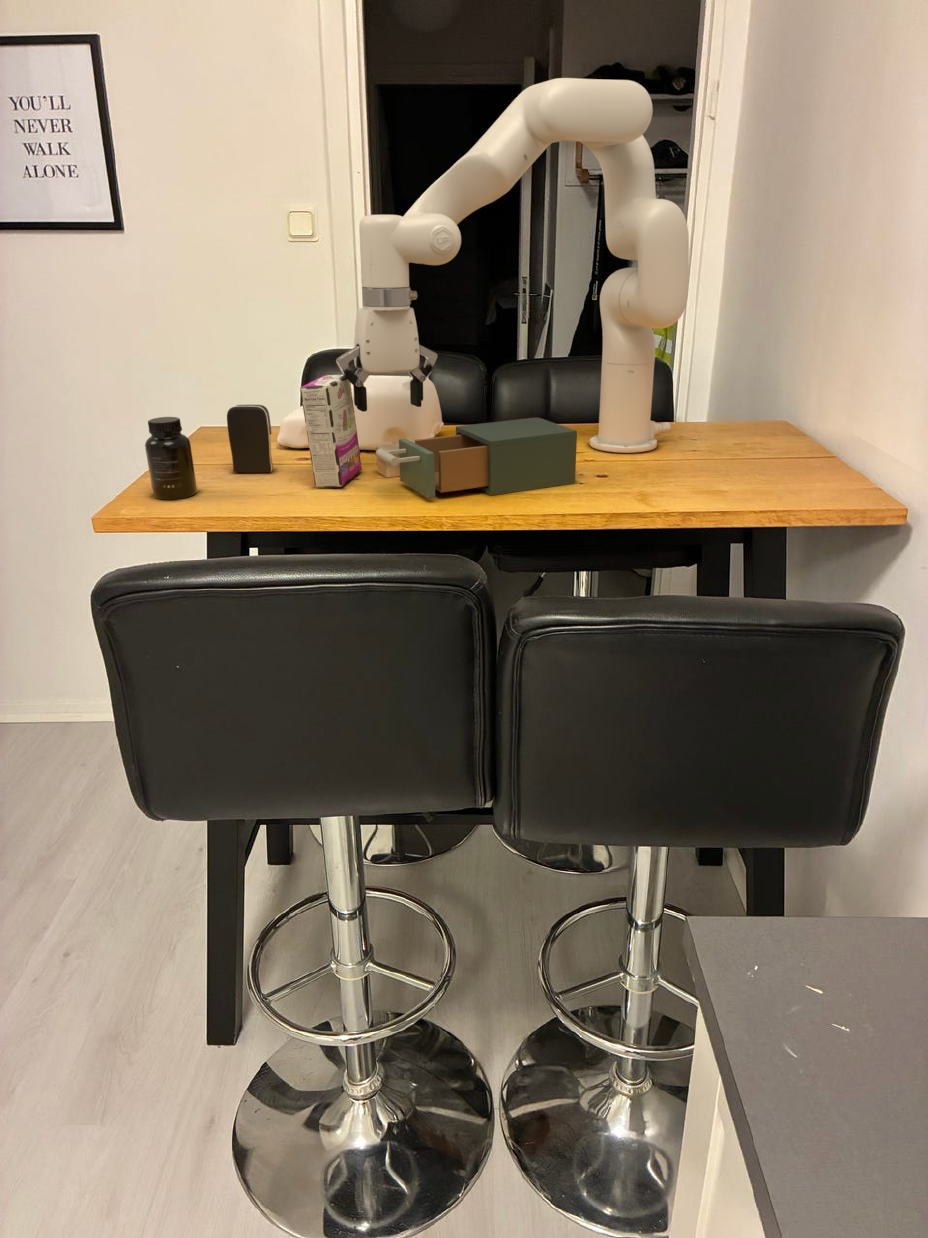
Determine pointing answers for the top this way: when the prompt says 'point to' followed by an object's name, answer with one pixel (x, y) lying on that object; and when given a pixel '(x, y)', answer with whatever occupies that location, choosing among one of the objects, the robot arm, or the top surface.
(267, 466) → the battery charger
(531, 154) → the robot arm
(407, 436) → the white rounded body
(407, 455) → the drawer
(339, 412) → the candy bar box
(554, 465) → the cabinet
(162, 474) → the supplement bottle
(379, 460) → the cream box
